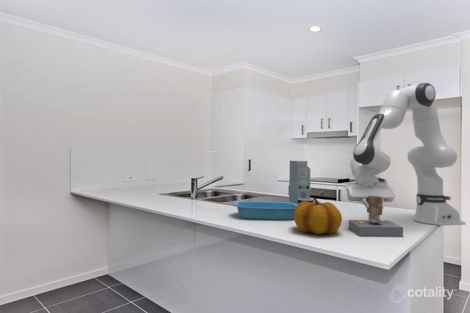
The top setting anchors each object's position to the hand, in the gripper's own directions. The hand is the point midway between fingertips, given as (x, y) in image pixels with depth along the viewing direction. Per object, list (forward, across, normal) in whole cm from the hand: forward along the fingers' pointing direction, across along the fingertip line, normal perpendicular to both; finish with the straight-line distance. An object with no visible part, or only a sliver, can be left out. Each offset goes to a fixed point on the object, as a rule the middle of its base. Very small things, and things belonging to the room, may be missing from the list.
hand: (375, 208), depth 135 cm
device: (-28, -23, +44) cm, 57 cm away
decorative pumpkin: (+7, -25, +9) cm, 27 cm away
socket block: (+7, 0, +8) cm, 11 cm away
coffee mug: (-14, -23, +30) cm, 40 cm away
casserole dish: (-15, -44, +32) cm, 56 cm away
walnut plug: (+4, 0, +5) cm, 6 cm away
